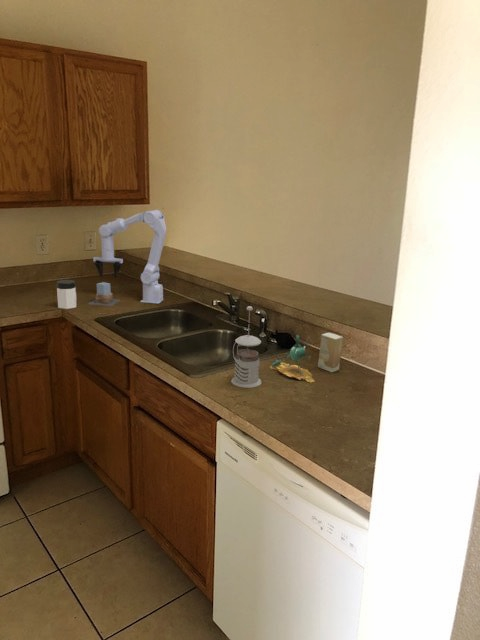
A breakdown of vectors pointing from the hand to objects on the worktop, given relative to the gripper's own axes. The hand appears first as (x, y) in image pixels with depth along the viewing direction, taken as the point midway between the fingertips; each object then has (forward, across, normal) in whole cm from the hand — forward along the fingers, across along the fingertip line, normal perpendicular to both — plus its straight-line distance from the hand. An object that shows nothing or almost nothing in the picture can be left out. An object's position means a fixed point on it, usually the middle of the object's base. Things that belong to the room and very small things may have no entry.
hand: (108, 276), depth 260 cm
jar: (+11, +11, +23) cm, 28 cm away
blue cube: (+6, -2, +11) cm, 13 cm away
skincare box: (+11, -108, +71) cm, 130 cm away
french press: (+11, -81, +88) cm, 120 cm away
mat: (+10, -2, +11) cm, 15 cm away
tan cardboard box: (+10, -2, +11) cm, 15 cm away
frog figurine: (+11, -96, +78) cm, 124 cm away
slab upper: (+8, -2, +11) cm, 14 cm away
